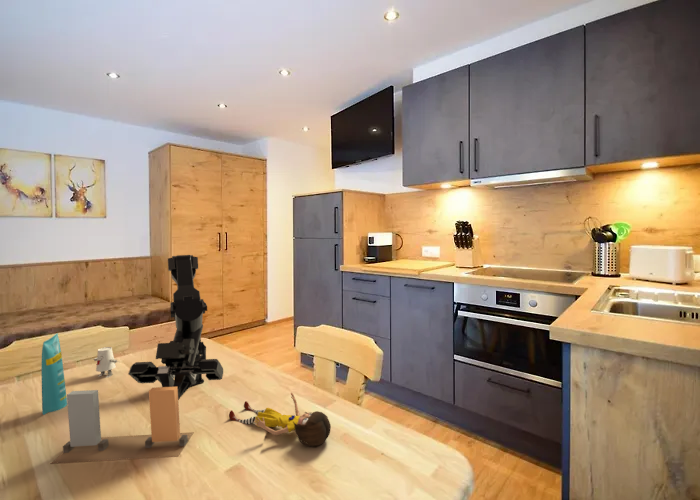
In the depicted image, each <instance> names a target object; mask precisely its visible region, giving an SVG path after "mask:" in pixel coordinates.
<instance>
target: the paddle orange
mask: <svg viewBox="0 0 700 500" xmlns="http://www.w3.org/2000/svg"><path fill="white" fill-rule="evenodd" d="M148 399H149V414H150V415H149V416H150V430H151V434H150V435H152V442H162V441H177V440H178V439H179V437H180V433H181V428H180V427H181V425H180V424H181V423H180V408H179V400H178V388H177V387H162V386H160V387H152V388H150V390H148Z"/></svg>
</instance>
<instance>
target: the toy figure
mask: <svg viewBox="0 0 700 500" xmlns="http://www.w3.org/2000/svg"><path fill="white" fill-rule="evenodd" d="M113 352H114V351H113V347H112V346H105V347H102V348H101V347H100V348H98V349H97V357H94V358H90V360H94V362H96V369H95V371H96V372H99V373H100V374H98V375H97V377H98V378H99V377H102V376H104V375H105V378H111V377H112V376H113V371H112V370H113V369H115V368H116V367H117V366H116V363H119V361H118V360H117V359H115V357H114V353H113ZM106 375H107V376H106Z"/></svg>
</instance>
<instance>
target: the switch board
mask: <svg viewBox="0 0 700 500" xmlns="http://www.w3.org/2000/svg"><path fill="white" fill-rule="evenodd" d="M194 433H195V432H194V431H191V432H180V437H179V439H178V440H177V441H162V442H152V434H136V435H120V436H118V435H117V436H101V441H100V442H99V443H98V444H97V445H91V446H74V447H71V446H70V440H69V441H67V442H66V443H65V444H64V445H62V453H61V454H59V456H57V457H56V458H55V459H53V461H51V462H50V465H56V464H73V463H89V462H90V463H91V462H106V461H108V462H109V461H122V460H123V461H124V460H125V461H126V460H137V459H138V460H139V459H155V458H156V459H157V458H158V459H159V458H175V457H176V458H177V457H180V455H181V453H182V452H183V450H184V449H185V447H186V445H187V444H188V442H189V441H190V439H191V437H193V434H194Z"/></svg>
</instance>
